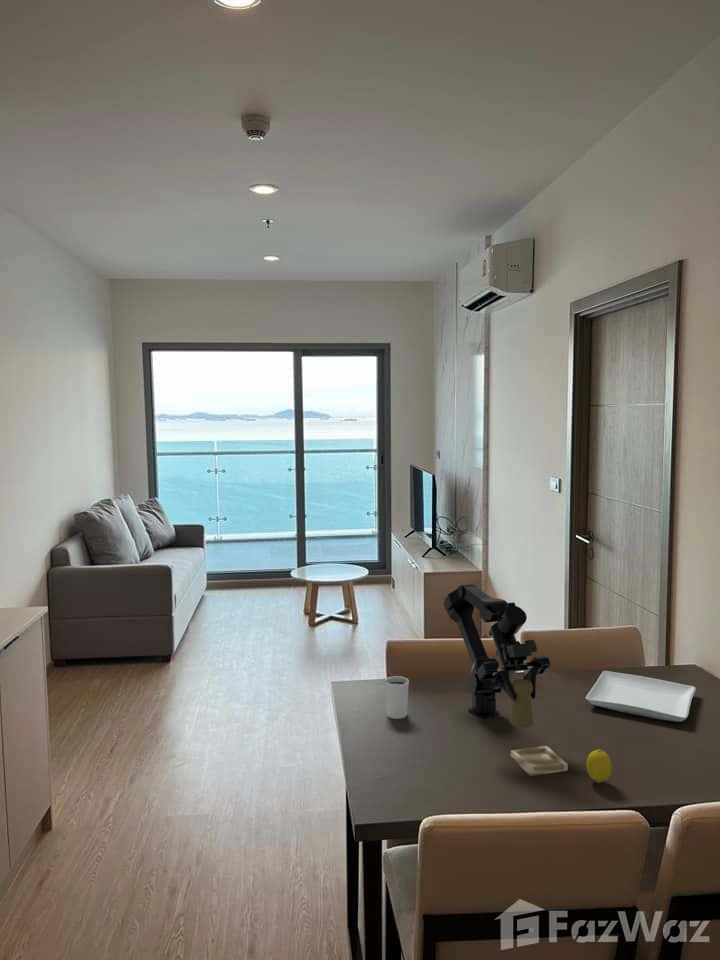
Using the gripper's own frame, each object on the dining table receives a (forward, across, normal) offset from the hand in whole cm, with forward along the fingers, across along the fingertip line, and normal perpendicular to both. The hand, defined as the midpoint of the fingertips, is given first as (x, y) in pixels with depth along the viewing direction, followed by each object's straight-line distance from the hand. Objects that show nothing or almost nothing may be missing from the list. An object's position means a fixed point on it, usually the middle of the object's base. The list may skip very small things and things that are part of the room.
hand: (524, 699), depth 183 cm
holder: (+15, 0, +4) cm, 15 cm away
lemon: (+23, +9, -5) cm, 25 cm away
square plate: (-3, +48, +23) cm, 54 cm away
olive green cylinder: (+4, 0, +6) cm, 7 cm away
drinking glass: (-10, -25, +30) cm, 40 cm away
